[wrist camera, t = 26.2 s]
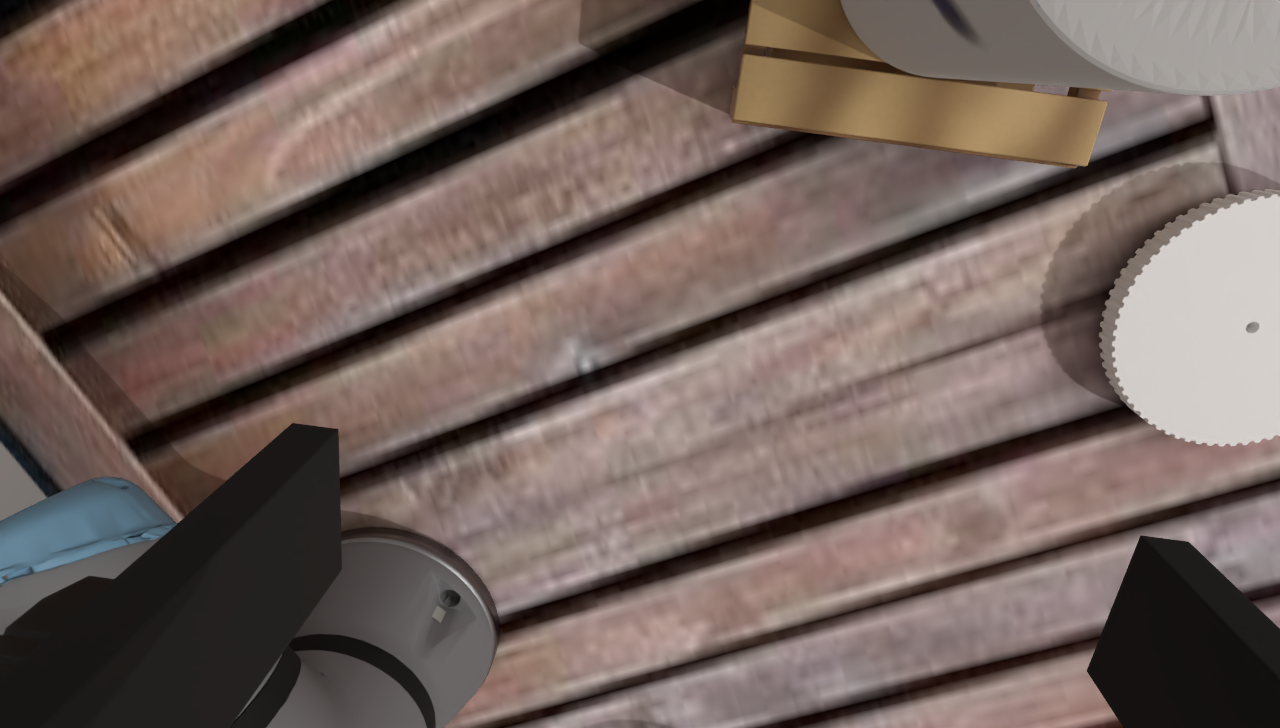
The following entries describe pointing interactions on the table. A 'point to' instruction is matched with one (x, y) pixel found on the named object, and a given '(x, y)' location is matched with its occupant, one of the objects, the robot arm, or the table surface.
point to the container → (1080, 42)
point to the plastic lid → (1202, 324)
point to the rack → (896, 94)
